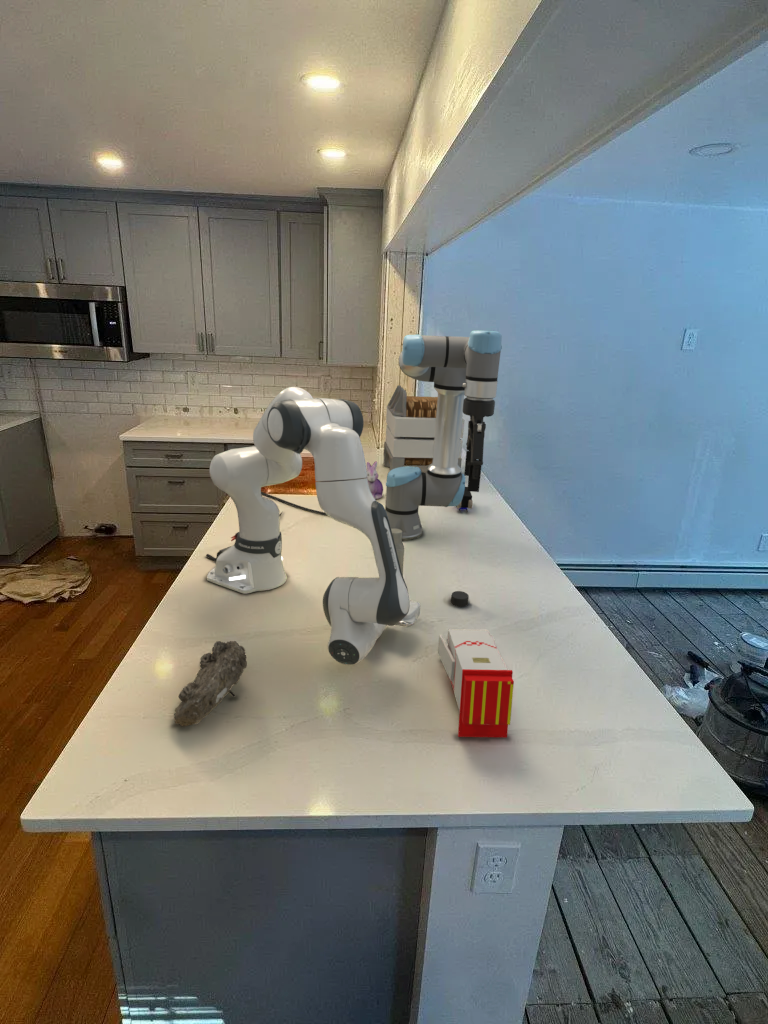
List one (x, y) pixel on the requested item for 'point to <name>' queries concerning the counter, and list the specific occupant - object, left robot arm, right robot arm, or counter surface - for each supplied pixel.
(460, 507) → the figurine character
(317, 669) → the counter surface
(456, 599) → the cap
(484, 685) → the toy
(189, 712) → the fossil
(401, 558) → the bottle
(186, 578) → the counter surface
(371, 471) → the figurine
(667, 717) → the counter surface
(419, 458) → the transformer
